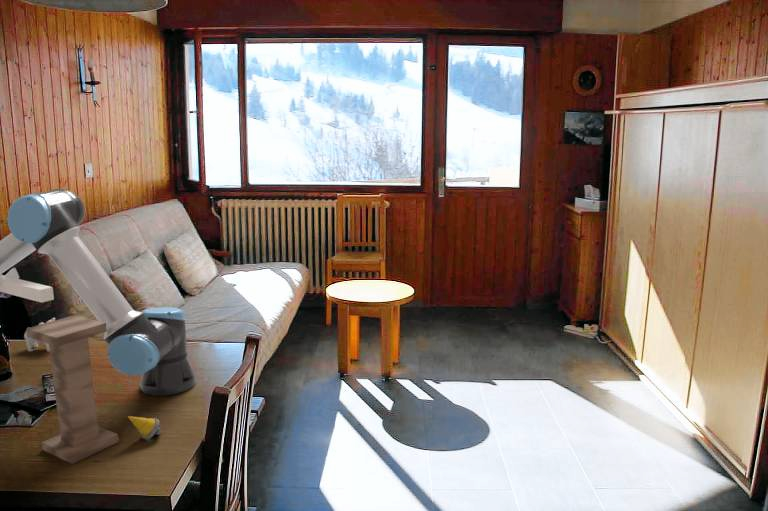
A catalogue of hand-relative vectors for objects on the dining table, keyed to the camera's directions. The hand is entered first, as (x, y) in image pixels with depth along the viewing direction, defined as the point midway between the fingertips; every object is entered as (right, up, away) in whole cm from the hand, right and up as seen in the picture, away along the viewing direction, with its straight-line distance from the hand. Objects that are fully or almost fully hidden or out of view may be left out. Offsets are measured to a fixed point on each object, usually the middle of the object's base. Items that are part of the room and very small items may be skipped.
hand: (8, 274), depth 162 cm
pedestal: (+20, -41, -4) cm, 45 cm away
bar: (+4, -5, -1) cm, 6 cm away
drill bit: (+34, -40, -1) cm, 53 cm away
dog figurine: (-22, -27, +62) cm, 71 cm away
